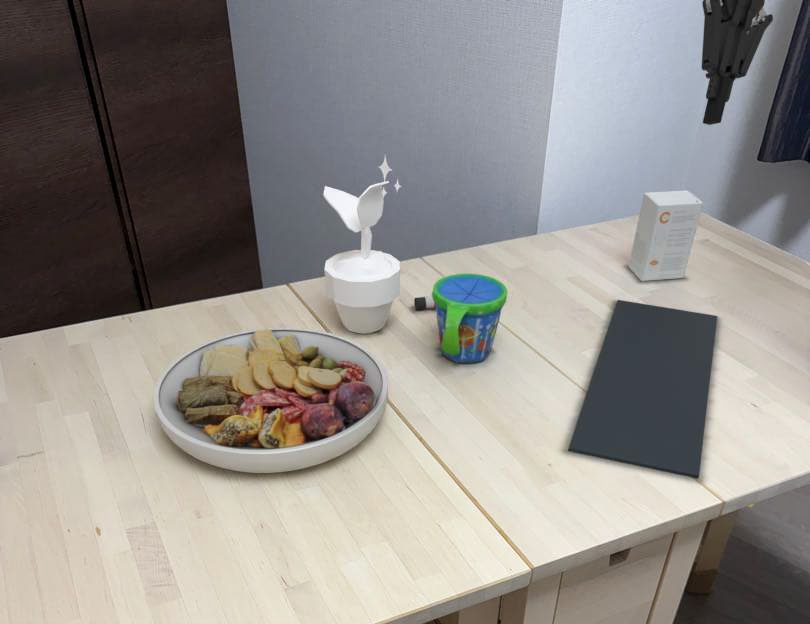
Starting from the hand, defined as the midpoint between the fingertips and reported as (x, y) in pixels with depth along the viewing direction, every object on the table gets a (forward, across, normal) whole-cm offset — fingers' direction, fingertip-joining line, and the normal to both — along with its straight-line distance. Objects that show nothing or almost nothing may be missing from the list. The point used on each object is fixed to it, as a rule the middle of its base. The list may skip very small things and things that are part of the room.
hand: (711, 122), depth 124 cm
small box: (+24, +2, -2) cm, 25 cm away
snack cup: (+41, +44, +10) cm, 61 cm away
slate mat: (+40, +21, +25) cm, 52 cm away
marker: (+34, +39, -4) cm, 52 cm away
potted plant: (+39, +56, -3) cm, 68 cm away
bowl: (+51, +73, +16) cm, 90 cm away
